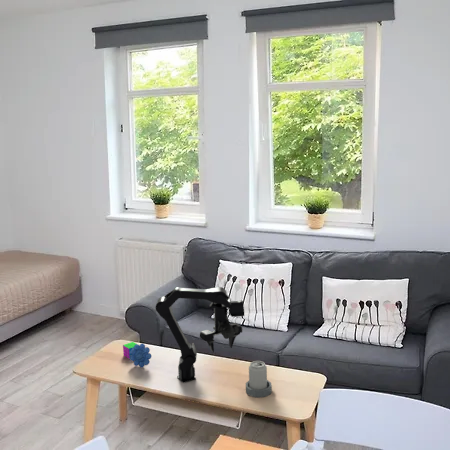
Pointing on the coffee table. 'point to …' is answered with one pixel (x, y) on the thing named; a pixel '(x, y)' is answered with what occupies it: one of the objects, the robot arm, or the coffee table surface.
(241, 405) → the coffee table surface
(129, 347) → the puzzle toy
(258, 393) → the ring holder
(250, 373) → the can
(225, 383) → the coffee table surface
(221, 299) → the robot arm
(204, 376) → the coffee table surface
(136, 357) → the grapes
